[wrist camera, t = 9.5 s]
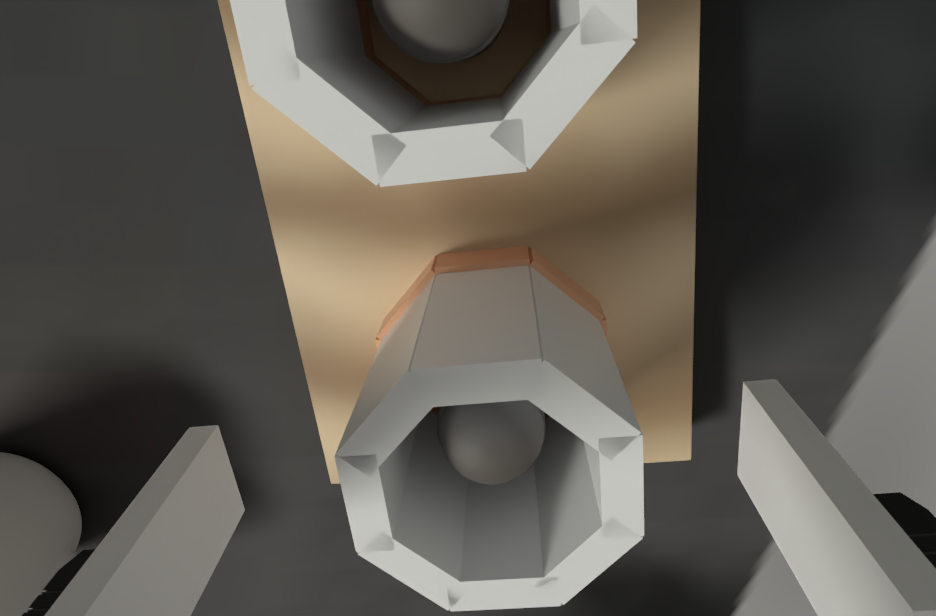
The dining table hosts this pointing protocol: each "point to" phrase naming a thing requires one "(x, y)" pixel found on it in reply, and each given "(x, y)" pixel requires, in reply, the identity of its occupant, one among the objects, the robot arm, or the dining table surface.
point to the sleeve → (486, 381)
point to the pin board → (500, 218)
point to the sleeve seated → (404, 108)
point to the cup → (33, 530)
